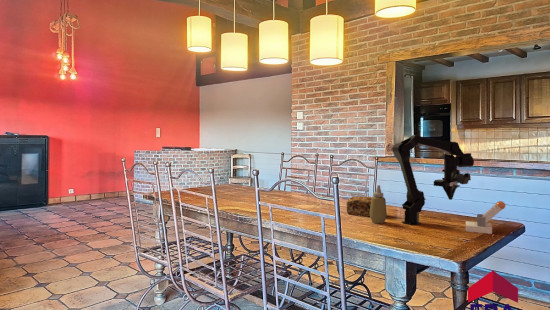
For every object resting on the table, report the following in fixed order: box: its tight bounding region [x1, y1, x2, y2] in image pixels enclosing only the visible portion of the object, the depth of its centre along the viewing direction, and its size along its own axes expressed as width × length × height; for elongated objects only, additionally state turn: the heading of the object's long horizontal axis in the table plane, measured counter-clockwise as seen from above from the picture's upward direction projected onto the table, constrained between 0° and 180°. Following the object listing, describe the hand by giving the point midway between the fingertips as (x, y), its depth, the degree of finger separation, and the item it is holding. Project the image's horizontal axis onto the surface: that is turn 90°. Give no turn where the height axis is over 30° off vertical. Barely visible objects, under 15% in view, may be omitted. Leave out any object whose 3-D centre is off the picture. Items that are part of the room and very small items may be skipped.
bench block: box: [465, 213, 493, 235], centre depth 165 cm, size 10×10×6 cm
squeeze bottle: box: [369, 185, 388, 224], centre depth 180 cm, size 8×8×18 cm
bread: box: [346, 196, 373, 217], centre depth 199 cm, size 19×11×10 cm, turn 55°
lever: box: [481, 200, 506, 224], centre depth 162 cm, size 4×5×14 cm
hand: (450, 199), depth 180 cm, fingers closed
